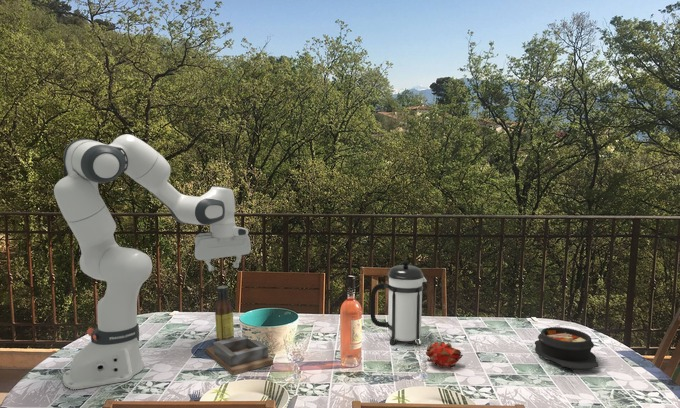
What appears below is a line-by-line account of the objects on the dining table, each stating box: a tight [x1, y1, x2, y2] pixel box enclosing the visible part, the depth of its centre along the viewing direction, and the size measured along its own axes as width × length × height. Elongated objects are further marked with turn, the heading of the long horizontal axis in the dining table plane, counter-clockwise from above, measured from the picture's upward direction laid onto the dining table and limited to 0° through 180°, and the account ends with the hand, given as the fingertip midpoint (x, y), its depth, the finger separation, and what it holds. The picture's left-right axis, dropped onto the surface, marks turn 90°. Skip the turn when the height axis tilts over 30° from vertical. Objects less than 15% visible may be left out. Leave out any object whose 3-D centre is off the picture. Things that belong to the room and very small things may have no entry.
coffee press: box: [369, 259, 428, 346], centre depth 177 cm, size 17×16×30 cm
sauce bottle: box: [214, 285, 235, 341], centre depth 177 cm, size 7×6×20 cm
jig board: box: [205, 336, 274, 376], centre depth 162 cm, size 14×22×5 cm, turn 37°
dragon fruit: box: [425, 341, 464, 369], centre depth 156 cm, size 8×8×12 cm
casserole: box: [534, 326, 600, 370], centre depth 162 cm, size 25×19×8 cm
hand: (223, 269), depth 176 cm, fingers open, 8 cm apart
